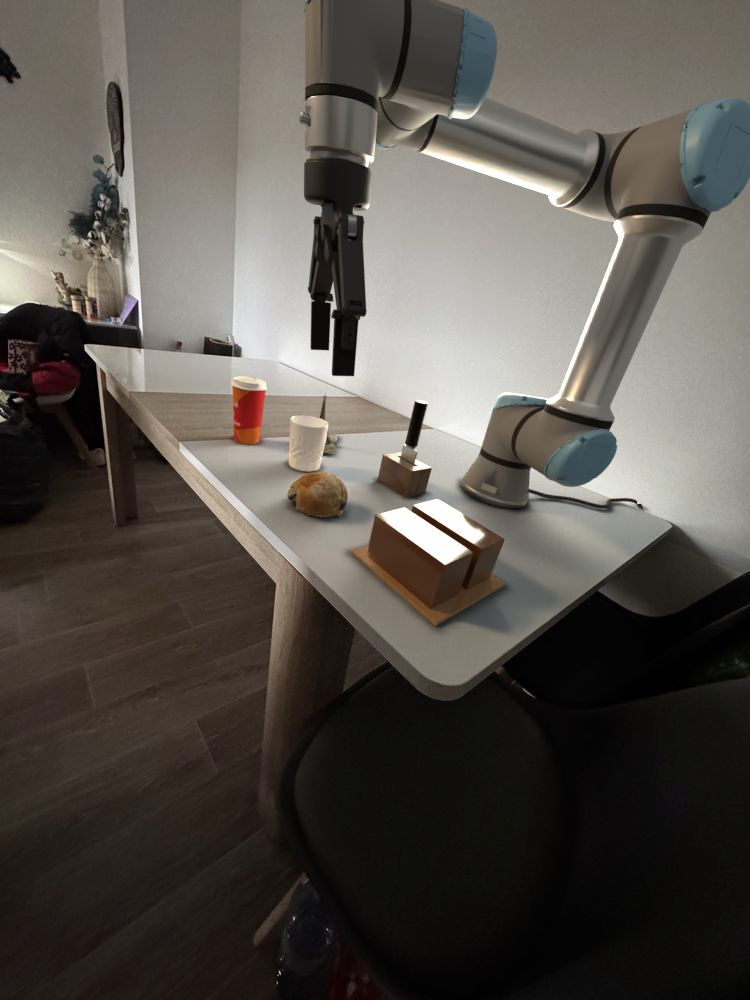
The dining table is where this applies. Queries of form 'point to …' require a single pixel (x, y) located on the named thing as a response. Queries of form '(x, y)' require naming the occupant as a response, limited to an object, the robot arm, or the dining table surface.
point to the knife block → (404, 475)
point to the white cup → (306, 442)
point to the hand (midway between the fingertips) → (330, 361)
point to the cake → (433, 558)
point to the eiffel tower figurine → (330, 441)
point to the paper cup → (248, 408)
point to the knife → (414, 432)
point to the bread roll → (318, 495)
